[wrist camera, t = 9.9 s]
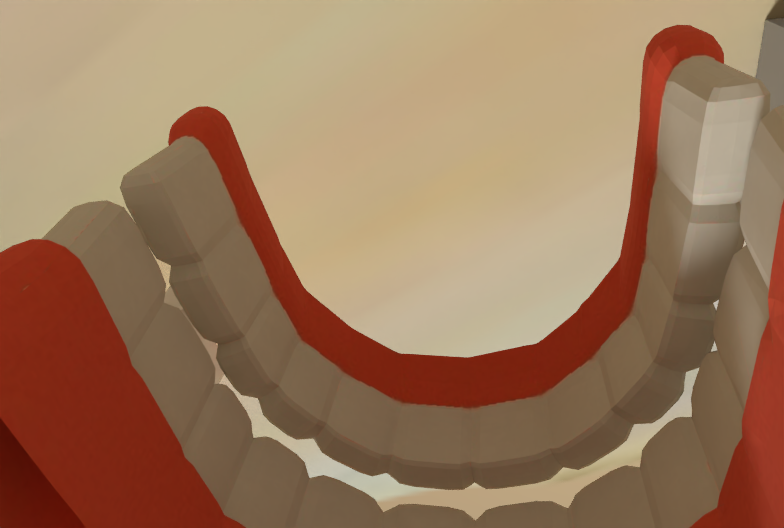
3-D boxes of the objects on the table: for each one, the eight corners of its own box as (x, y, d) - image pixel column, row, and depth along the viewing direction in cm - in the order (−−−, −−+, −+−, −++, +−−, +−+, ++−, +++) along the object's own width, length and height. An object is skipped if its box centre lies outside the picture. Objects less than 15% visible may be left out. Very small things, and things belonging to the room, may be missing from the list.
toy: (274, 444, 19) (156, 754, 12) (142, 112, 14) (-186, 325, 7) (721, 424, 16) (888, 806, 10) (757, 6, 11) (1163, 185, 5)
